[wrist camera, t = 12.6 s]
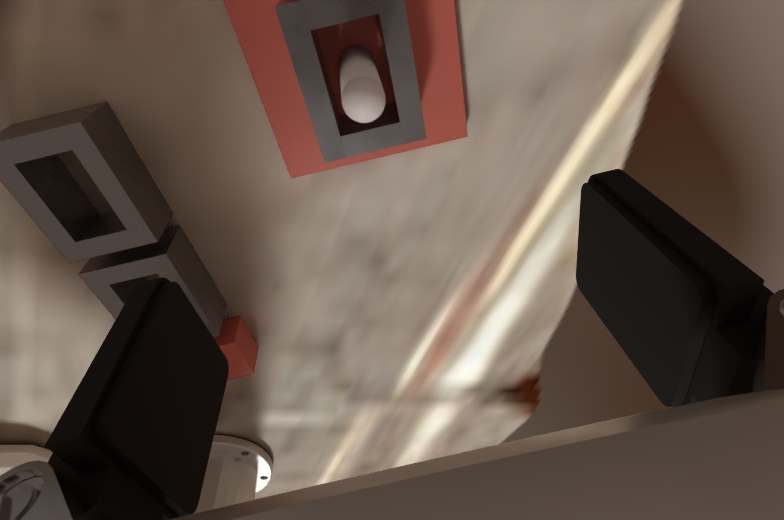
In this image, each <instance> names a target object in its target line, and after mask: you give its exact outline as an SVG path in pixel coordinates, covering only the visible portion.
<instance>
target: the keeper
mask: <svg viewBox="0 0 784 520" xmlns="http://www.w3.org/2000/svg"><path fill="white" fill-rule="evenodd" d="M278 2H279V0H224V3H225V5H226V8H227V11H228V13H229V16H230V19H231V21H232V24H233V26H234V29H235V32H236V34H237V37H238V40H239V42H240V45H241V48H242V50H243V53H244V55H245V58H246V61H247V63H248V66H249V69H250V71H251V74H252V77H253V79H254V82H255V84H256V87H257V90H258V92H259V95H260V98H261V100H262V103H263V106H264V108H265V111H266V114H267V116H268V119H269V121H270V124H271V127H272V129H273V132H274V135H275V137H276V140H277V143H278V145H279V148H280V150H281V153H282V156H283V158H284V161H285V164H286V166H287V169H288V172H289V174H290V177H291V178H295V177H299V176H304V175H308V174H312V173H316V172H321V171H325V170H329V169H333V168H337V167H342V166H346V165H350V164H354V163H358V162H363V161H367V160H371V159H375V158H379V157H384V156H388V155H392V154H396V153H400V152H405V151H409V150H413V149H417V148H422V147H426V146H430V145H434V144H438V143H443V142H447V141H451V140H455V139H459V138H464V137H468V134H467V124H466V114H465V104H464V94H463V84H462V74H461V64H460V54H459V44H458V34H457V25H456V15H455V5H454V0H405V6H406V12H407V19H408V25H409V31H410V37H411V44H412V50H413V56H414V63H415V69H416V75H417V81H418V88H419V94H420V100H421V107H422V113H423V119H424V125H425V132H426V138H427V139H424V140H420V141H415V142H411V143H407V144H403V145H399V146H394V147H390V148H386V149H382V150H378V151H373V152H369V153H365V154H361V155H356V156H352V157H348V158H344V159H340V160H335V161H331V162H327V163H324V160H323V157H322V154H321V151H320V148H319V145H318V142H317V138H316V135H315V132H314V129H313V126H312V123H311V120H310V116H309V113H308V110H307V107H306V104H305V101H304V98H303V95H302V91H301V88H300V85H299V82H298V79H297V76H296V73H295V69H294V66H293V63H292V60H291V57H290V54H289V51H288V48H287V44H286V41H285V38H284V35H283V32H282V29H281V26H280V22H279V19H278V16H277V13H276V10H275V6H276V4H277V3H278ZM316 33H317V36H318V40H319V44H320V47H321V51H322V54H323V58H324V62H325V65H326V69H327V72H328V76H329V80H330V83H331V87H332V91H333V94H334V98H335V101H336V105H337V109H338V112H339V115H344V114H347V115H348V116H349V117H350V118H351V119H352V120H354V121H356V122H360V123H368V122H372V121H374V120H375V119H377V118H378V117H379V116H380V115H381V114H382V112H383V110H384V107H385V104H389V103H393V100H392V95H391V90H390V85H389V80H388V75H387V69H386V64H385V59H384V54H383V49H382V44H381V39H380V34H379V29H378V24H377V19H376V15H372V16H368V17H364V18H360V19H356V20H352V21H348V22H344V23H339V24H335V25H331V26H327V27H323V28H319V29H316Z"/></svg>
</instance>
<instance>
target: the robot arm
mask: <svg viewBox="0 0 784 520" xmlns="http://www.w3.org/2000/svg"><path fill="white" fill-rule="evenodd" d="M576 280H577V284H578V287H579V289H580V291H581V292H582V294H583V295H584V296H585V298H586V299H587V300H588V302H589V303H590V305H591V306H592V307H593V309H594V310H595V312H596V313H597V315H598V316H599V317H600V319H601V320H602V321H603V323H604V324H605V326H606V327H607V328H608V330H609V331H610V332H611V334H612V335H613V337H614V338H615V339H616V341H617V342H618V343H619V345H620V346H621V348H622V349H623V350H624V352H625V353H626V354H627V356H628V357H629V359H630V360H631V361H632V363H633V364H634V366H635V367H636V368H637V370H638V371H639V372H640V374H641V375H642V377H643V378H644V379H645V381H646V382H647V383H648V385H649V386H650V388H651V389H652V390H653V392H654V393H655V394H656V396H657V397H658V399H659V400H660V401H661V402H662V404H664V405H665V406H667V407H671V408H666V409H661V410H656V411H651V412H646V413H641V414H636V415H631V416H626V417H622V418H617V419H613V420H608V421H604V422H599V423H595V424H590V425H585V426H581V427H576V428H572V429H567V430H563V431H558V432H553V433H549V434H544V435H540V436H535V437H531V438H526V439H522V440H517V441H512V442H508V443H503V444H499V445H494V446H490V447H485V448H481V449H476V450H472V451H467V452H463V453H458V454H454V455H449V456H445V457H440V458H436V459H431V460H427V461H423V462H418V463H414V464H409V465H405V466H400V467H396V468H391V469H387V470H382V471H378V472H374V473H369V474H365V475H360V476H356V477H351V478H347V479H343V480H338V481H334V482H329V483H325V484H320V485H316V486H312V487H307V488H303V489H299V490H294V491H290V492H286V493H281V494H277V495H273V496H268V497H264V498H260V499H255V493H257V492H258V491H260V490H261V489H263V488H264V487H265V486H266V485H267V484H268V482H269V481H270V479H271V476H272V467H273V463H272V460H271V458H270V456H269V455H268V454H267V452H265V451H264V450H263V449H262V448H261V447H259V446H257V445H256V444H254V443H252V442H249V441H247V440H244V439H240V438H236V437H232V436H224V435H214V434H215V430H216V425H217V421H218V417H219V412H220V408H221V404H222V400H223V395H224V391H225V387H226V382H227V378H228V373H229V365H228V361H227V358H226V356H225V355H224V353H223V352H222V350H221V349H220V347H219V346H218V344H217V343H216V341H215V339H214V338H213V336H212V335H211V333H210V332H209V330H208V329H207V327H206V325H205V324H204V322H203V321H202V319H201V318H200V316H199V315H198V313H197V312H196V310H195V308H194V307H193V305H192V304H191V302H190V301H189V299H188V298H187V296H186V294H185V293H184V291H183V290H182V288H181V287H180V285H179V284H178V283H177V282H174V281H172V282H170V280H168V279H167V278H164V277H162V278H158V279H154V280H149V281H145V282H141V283H138V284H136V286H135V287H134V288H133V290H132V292H131V294H130V296H129V297H128V299H127V301H126V303H125V304H124V306H123V308H122V310H121V312H120V313H119V315H118V317H117V319H116V320H115V322H114V324H113V326H112V328H111V329H110V331H109V333H108V335H107V336H106V338H105V340H104V342H103V344H102V345H101V347H100V349H99V351H98V352H97V354H96V356H95V358H94V360H93V361H92V363H91V365H90V367H89V368H88V370H87V372H86V374H85V376H84V377H83V379H82V381H81V383H80V384H79V386H78V388H77V390H76V392H75V393H74V395H73V397H72V399H71V400H70V402H69V404H68V406H67V408H66V409H65V411H64V413H63V415H62V416H61V418H60V420H59V422H58V424H57V425H56V427H55V429H54V431H53V432H52V434H51V436H50V438H49V440H48V441H47V443H46V445H45V447H47V448H48V449H49V450H50V451H51V452H53V453H52V455H51V457H50V459H49V461H48V462H44V461H39V460H38V461H31V462H26V463H24V464H21V465H19V466H16V467H14V468H12V469H10V470H9V471H7V472H6V473H4V474H2V475H1V476H0V520H784V289H782V290H778V291H777V292H776V293H773V292H771V291H770V290H769V289H768V288H766V287H765V286H764V285H763V283H764V280H763V279H762V278H761V277H760V276H758V275H757V274H756V273H754V272H753V271H752V270H750V269H749V268H748V267H747V266H745V265H744V264H743V263H741V262H740V261H739V260H738V259H736V258H735V257H734V256H732V255H731V254H729V253H728V252H727V251H726V250H725V249H723V248H722V247H721V246H719V245H718V244H717V243H716V242H714V241H713V240H712V239H710V238H709V237H708V236H706V235H705V234H704V233H703V232H701V231H700V230H699V229H697V228H696V227H695V226H693V225H692V224H691V223H689V222H688V221H687V220H686V219H685V218H683V217H682V216H680V215H679V214H678V213H677V212H675V211H674V210H673V209H672V208H670V207H669V206H668V205H666V204H665V203H664V202H662V201H661V200H660V199H658V198H657V197H656V196H655V195H653V194H652V193H651V192H650V191H648V190H647V189H646V188H644V187H643V186H642V185H641V184H639V183H638V182H637V181H635V180H634V179H633V178H631V177H630V176H629V175H627V174H626V173H625V172H624V171H622V170H620V169H615V170H611V171H607V172H602V173H598V174H594V175H592V176H591V177H590V178H589V180H588V183H584V184H583V186H582V189H581V202H580V218H579V235H578V251H577V268H576ZM672 406H673V407H672Z"/></svg>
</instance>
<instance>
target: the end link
mask: <svg viewBox="0 0 784 520" xmlns="http://www.w3.org/2000/svg"><path fill="white" fill-rule="evenodd" d="M275 10H276V13H277V16H278V19H279V22H280V26H281V29H282V32H283V35H284V38H285V41H286V44H287V48H288V51H289V54H290V57H291V60H292V63H293V66H294V69H295V73H296V76H297V79H298V82H299V85H300V88H301V91H302V95H303V98H304V101H305V104H306V107H307V110H308V113H309V116H310V120H311V123H312V126H313V129H314V132H315V135H316V138H317V142H318V145H319V148H320V151H321V154H322V157H323V160H324V163H327V162H331V161H335V160H340V159H344V158H348V157H352V156H356V155H361V154H365V153H369V152H373V151H378V150H382V149H386V148H390V147H394V146H399V145H403V144H407V143H411V142H415V141H420V140H424V139H427V138H426V132H425V125H424V119H423V113H422V107H421V100H420V94H419V88H418V81H417V75H416V69H415V63H414V56H413V50H412V44H411V37H410V31H409V25H408V19H407V12H406V6H405V0H279V2H278V3H277V4H276V6H275ZM372 15H376V19H377V24H378V29H379V34H380V39H381V44H382V49H383V54H384V59H385V64H386V69H387V75H388V80H389V85H390V90H391V95H392V100H393V103H389V104H385V107H384V110H383V112H382V114H381V115H380V116H379V117H378V118H377V119H375V120H374V121H372V122H368V123H360V122H356V121H354V120H352V119H351V118H350V117H349V116H348V115H347V114H344V115H339V112H338V109H337V105H336V101H335V98H334V94H333V91H332V87H331V83H330V80H329V76H328V72H327V69H326V65H325V62H324V58H323V54H322V51H321V47H320V44H319V40H318V36H317V33H316V29H319V28H323V27H327V26H331V25H335V24H339V23H344V22H348V21H352V20H356V19H360V18H364V17H368V16H372Z"/></svg>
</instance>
